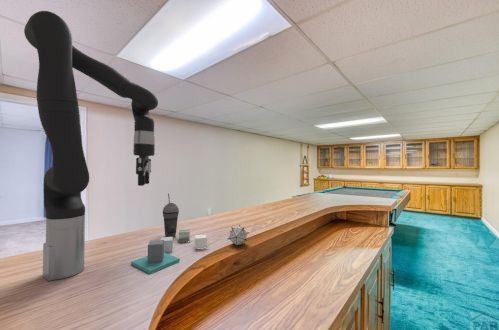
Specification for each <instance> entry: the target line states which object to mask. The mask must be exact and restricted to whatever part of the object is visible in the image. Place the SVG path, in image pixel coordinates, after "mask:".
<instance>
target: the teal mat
mask: <svg viewBox="0 0 499 330" xmlns="http://www.w3.org/2000/svg"><path fill="white" fill-rule="evenodd" d="M179 261H180V262H181V259H180V257H177V256H174V255H171V254H168V252H165V253H164V258H163V262H159V263H149V264H148V255H146V256H144V257H140V258H137V259H135V260H131V261H130V265H131V266H133V267H135V268H136V269H139V270H141V271H143V272H145V273H147V274H148V275H151V274H154V273H155V272H158V271H160V270H163V269H166V268H167V267H170V266H172V265H176V264H178V263H180V262H179Z"/></svg>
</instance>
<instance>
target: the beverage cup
mask: <svg viewBox="0 0 499 330" xmlns="http://www.w3.org/2000/svg"><path fill="white" fill-rule="evenodd" d="M167 195H168V203H167V204H165V205H164V207H163V208H162V217H163V226H164V235H165V236H164V237H173V239H174V238H176V236H177V230H178V229H177V228H178V217H179V212H180V210H179V207H178V205H177V204H176V203H173V202H171V199H170V193H168V194H167Z"/></svg>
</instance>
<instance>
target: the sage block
mask: <svg viewBox="0 0 499 330" xmlns="http://www.w3.org/2000/svg"><path fill="white" fill-rule="evenodd" d="M190 232H191V231H190V228H181V229H178V243H179V242H181V243H189V242H188V241H190V235H191V233H190Z"/></svg>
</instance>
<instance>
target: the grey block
mask: <svg viewBox="0 0 499 330" xmlns="http://www.w3.org/2000/svg"><path fill="white" fill-rule="evenodd" d="M159 240H164V253H172V252H173V249H174V238H173V237H165V236H162V237H160V238H159Z"/></svg>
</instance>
